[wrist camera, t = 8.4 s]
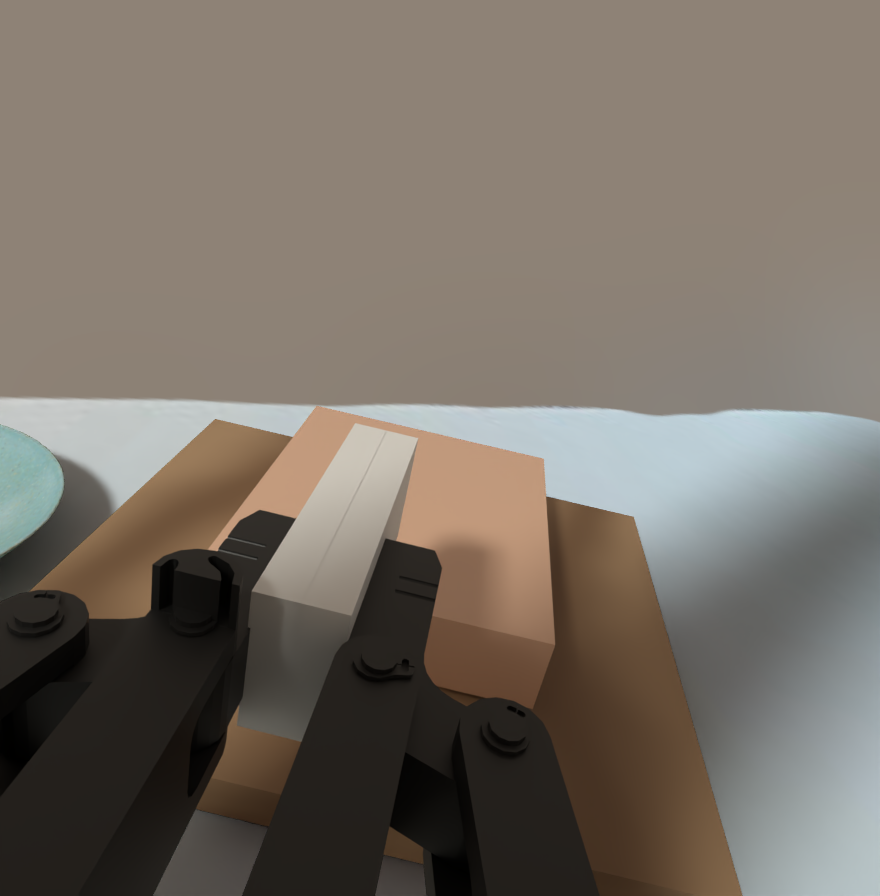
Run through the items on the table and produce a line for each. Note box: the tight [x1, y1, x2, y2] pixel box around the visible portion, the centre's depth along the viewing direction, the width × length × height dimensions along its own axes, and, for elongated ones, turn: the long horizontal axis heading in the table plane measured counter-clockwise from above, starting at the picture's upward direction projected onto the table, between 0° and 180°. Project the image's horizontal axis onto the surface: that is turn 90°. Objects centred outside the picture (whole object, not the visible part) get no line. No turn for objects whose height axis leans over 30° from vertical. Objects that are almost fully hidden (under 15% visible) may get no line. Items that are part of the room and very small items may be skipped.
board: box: [29, 419, 742, 896], centre depth 25 cm, size 20×18×1 cm
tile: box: [208, 406, 555, 709], centre depth 25 cm, size 10×2×12 cm
